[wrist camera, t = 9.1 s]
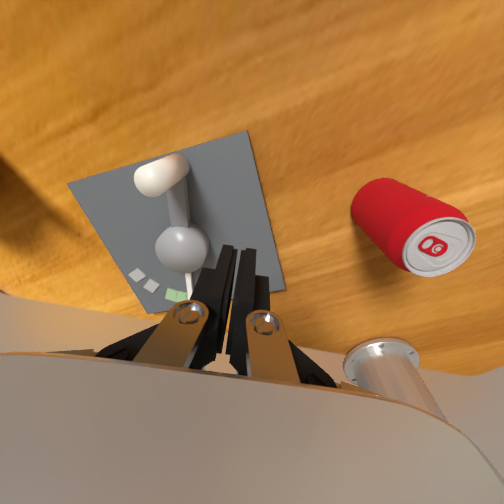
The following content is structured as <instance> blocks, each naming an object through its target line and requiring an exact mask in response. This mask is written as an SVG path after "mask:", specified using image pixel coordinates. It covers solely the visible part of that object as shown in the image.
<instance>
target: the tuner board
mask: <svg viewBox="0 0 504 504" xmlns="http://www.w3.org/2000/svg"><path fill="white" fill-rule="evenodd" d="M174 153H178V154H181V155H183V156H184V157H186V159H187V160H188V162H189V165H190V170H189V173H188V174H187V175H186V178H187V189H188V199H189V210H190V221H191V223H194V224H196V225H198V226H199V227H200V228H202V229H203V230H204V232H205V233H206V235H207V237H208V239H209V250H208V253H207V255H206V258H205V260H204V263H203V264H202V266H201V267H200V268H199V269H197V270H196V271H194V272H191V275H192V285H193V290H194V287H195V285H196V282H197V280H198V278H199V275H200V273H201V270H202V268H203V267H205V268H212V269H215V268H216V265H217V261H218V258H219V255H220V252H221V249H222V246H223V244H225V245H232V246H234V249H238V252H237V260H236V267H235V275H234V282H233V290H232V297H231V299H233V296H234V290H235V284H236V278H237V272H238V266H239V260H240V254H241V250H246V248H252V249H257V252H256V272H255V275H261V276H267V277H269V292H272V291H278V290H283V289H285V283H284V279H283V275H282V270H281V266H280V262H279V258H278V254H277V250H276V246H275V242H274V237H273V233H272V229H271V225H270V221H269V217H268V213H267V209H266V204H265V200H264V196H263V192H262V188H261V184H260V180H259V176H258V171H257V167H256V163H255V159H254V155H253V151H252V147H251V143H250V139H249V134H248V130H247V131H243V132H240V133H237V134H233V135H230V136H226V137H223V138H220V139H216V140H213V141H209V142H206V143H203V144H199V145H196V146H192V147H189V148H186V149H182V150H179V151H175V152H172V153H169V154H165V155H162V156H158V157H155V158H151V159H148V160H145V161H141V162H138V163H134V164H131V165H128V166H124V167H121V168H117V169H114V170H111V171H107V172H104V173H100V174H97V175H94V176H90V177H87V178H83V179H80V180H77V181H73V182H70V183H67V185H68V187H69V188H70V190H71V192H72V193H73V195H74V196H75V198H76V200H77V201H78V203H79V204H80V206H81V208H82V209H83V211H84V212H85V214H86V216H87V217H88V219H89V221H90V222H91V224H92V225H93V227H94V229H95V230H96V232H97V233H98V235H99V237H100V238H101V240H102V241H103V243H104V245H105V246H106V248H107V249H108V251H109V253H110V254H111V256H112V257H113V259H114V261H115V262H116V264H117V266H118V267H119V269H120V270H121V272H122V274H123V275H124V277H125V278H126V280H127V282H128V283H129V285H130V286H131V288H132V290H133V291H134V293H135V294H136V296H137V298H138V299H139V301H140V302H141V304H142V306H143V307H144V309H145V311H146V312H147V314H151V313H157V312H162V311H168V310H170V309H171V308H172V307H173V306H174V305H175V304H176V303H178V302H181V301H184V300H188V294H187V286H186V277H185V273H178V272H174V271H172V270H170V269H168V268H167V267H165V266H164V265H163V264H162V263H161V262H160V260H159V259H158V257H157V255H156V251H155V245H156V241H157V239H158V238H159V236H160V235H161V234H162V233H163V232H164V231H165V229H166V228H167V227H168V226H169V225H171V222H170V215H169V208H168V200H167V193H166V191H165V192H164V193H163V194H161V195H160V196H158V197H148V196H145V195H144V194H142V193H141V192H140V191H139V190H138V189H137V187H136V185H135V182H134V174H135V171H136V170H137V169H138V168H139V167H141V166H144V165H146V164H149V163H151V162H154V161H156V160H159V159H161V158H164V157H166V156H169V155H171V154H174Z"/></svg>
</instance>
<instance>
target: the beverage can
mask: <svg viewBox="0 0 504 504" xmlns="http://www.w3.org/2000/svg"><path fill="white" fill-rule="evenodd" d="M351 212H352V216H353V219H354V220H355V222H356V223H357V224H358V225H359V226H360V227H361V228H362V229H363V231H364V232H365V233H366V234H367V235H368V236H369V237H370V238H371V239H372V240H373V242H374V243H375V244H376V245H377V246H378V247H379V248H380V249H381V250H382V251H383V252H384V254H385V255H386V256H387V257H388V258H389V259H390V260H391V261H392V262H393V263H394V264H395V265H396V266H397V267H399V268H401V269H403V270H405V271H409V272H412V273H414V274H416V275H419V276H424V277H432V276H439V275H442V274H445V273H448V272H450V271H452V270H454V269H455V268H457V267H458V266H460V265H461V264H462V263H463V262H464V261H465V260H466V259H467V258H468V257H469V256H470V254H471V253H472V251H473V249H474V246H475V243H476V234H475V231H474V229H473V227H472V226H471V225H470V224H469V223H468V220H467V218H466V217H465V216H464V214H463V213H462V212H461V211H460V210H458V209H457V208H455V207H453V206H451V205H448V204H446V203H444V202H442V201H440V200H437V199H435V198H433V197H431V196H429V195H427V194H424V193H422V192H420V191H418V190H416V189H413V188H411V187H409V186H407V185H405V184H402V183H400V182H398V181H396V180H393V179H390V178H380V179H376V180H373V181H371V182H369V183H367V184H366V185H364V186H363V187H362V188H361V189H360V190H359V191H358V192H357V194H356V195H355V197H354V199H353V202H352V206H351Z"/></svg>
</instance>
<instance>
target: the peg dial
mask: <svg viewBox="0 0 504 504" xmlns="http://www.w3.org/2000/svg"><path fill="white" fill-rule="evenodd" d="M189 170H190V165H189V162H188V160H187V159H186V157H184V156H183V155H181V154H178V153H174V154H171V155H169V156H166V157H164V158H161V159H159V160H156V161H154V162H151V163H149V164H146V165H144V166H141V167H139V168H138V169H137V170H136V171H135V174H134V182H135V185H136V187H137V189H138V190H139V191H140V192H141V193H142V194H144V195H145V196H148V197H158V196H160V195H161V194H163V193H164V192H165V191H166V193H167V200H168V208H169V215H170V222H171V225H169V226H168V227H167V228H166V229H165V231H164V232H163V233H162V234H161V235H160V236H159V238H158V239H157V241H156V245H155V251H156V255H157V257H158V259H159V260H160V262H161V263H162V264H163V265H164V266H165V267H167V268H168V269H170V270H172V271H174V272H178V273H185V277H186V286H187V294H188V300H190V297H191V295H192V292H193V285H192V275H191V272H194V271H196V270H197V269H199V268H200V267H201V266H202V264H203V263H204V260H205V258H206V255H207V253H208V250H209V239H208V237H207V235H206V233H205V232H204V230H203V229H202V228H200V227H199V226H198V225H196V224H194V223H191V221H190V210H189V199H188V189H187V178H186V175H187V174H188V173H189Z"/></svg>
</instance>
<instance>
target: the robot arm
mask: <svg viewBox="0 0 504 504" xmlns="http://www.w3.org/2000/svg"><path fill="white" fill-rule="evenodd" d="M237 252H238V249H234V246H232V245H225V244H223V246H222V249H221V252H220V255H219V258H218V261H217V265H216V268H215V269H212V268H205V267H203V268H202V270H201V273H200V275H199V278H198V280H197V282H196V285H195V287H194V290H193V292H192V295H191V297H190V300H184V301H181V302H178V303H176V304H175V305H174V306H173V307H172V308H171V309H170V310H169V311H168V313H167V314H166V315H165V317H164V318H163V320H162V321H161V322H160V323H159V324H157V325H154V326H152V327H150V328H148V329H145V330H143V331H141V332H139V333H136V334H134V335H132V336H129V337H127V338H125V339H122V340H120V341H118V342H116V343H113V344H111V345H109V346H107V347H105V348H104V349H102V350H101V351H100V352H94V350H93V349H87V350H71V351H57V352H7V353H0V504H504V479H503V477H502V476H501V475H500V473H499V472H498V471H497V469H496V468H495V467H494V466H493V464H492V463H491V462H490V461H489V459H488V458H487V457H486V456H485V455H484V453H483V452H482V451H481V450H480V449H479V448H478V446H477V445H475V443H473V442H472V440H471V439H470V438H469V437H467V436H466V435H465V434H463V433H462V432H461V431H460V430H459V429H457V428H455V427H454V426H453V425H451V424H450V423H449V422H448V421H447V419H446V417H445V416H444V414H443V412H442V411H441V409H440V408H439V406H438V405H437V403H436V401H435V399H434V398H433V396H432V395H431V393H430V391H429V390H428V388H427V386H426V385H425V383H424V381H423V380H422V378H421V377H420V375H419V373H418V371H417V369H418V367H419V364H420V357H419V355H418V353H417V351H416V350H415V348H414V347H413V346H412V345H411V344H410V343H408V342H406V341H403V340H400V339H395V338H378V339H373V340H369V341H366V342H364V343H361V344H359V345H358V346H356V347H355V348H353V349H352V350H351V351H350V352H349V353H348V354H347V355H346V357H345V359H344V362H343V369H344V373H345V375H346V377H347V378H348V380H349V381H351V382H352V383H354V384H356V385H358V386H359V387H356V386H353V385H350V384H347V383H345V382H341V383H340V384H338V383H335V382H334V381H333V379H332V378H331V377H330V376H329V375H328V374H327V373H326V372H325V371H324V370H323V369H322V368H320V367H319V366H318V365H317V364H316V363H315V362H313V361H312V360H311V359H310V358H309V357H308V356H307V355H305V354H304V353H303V352H302V351H301V350H300V349H298V348H297V347H296V346H295V345H294V344H293V343H292V342H291V341H289V340H288V338H287V335H286V331H285V328H284V324H283V322H282V320H281V319H280V318H279V316H278V315H276V314H275V313H273V312H270V292H269V277H267V276H261V275H255V272H256V252H257V249H252V248H246V250H241V254H240V260H239V266H238V272H237V278H236V284H235V290H234V296H233V302H232V309H231V317H230V324H229V331H228V339H227V346H226V353H225V354H228V355H230V362H229V363H231V365H232V366H233V367H234V368H235V369H236V370H237V372H236V375H235V374H228V373H219V372H212V371H204V368H205V365H207V364H209V363H210V362H212V361H215V358H216V353H222V347H223V341H224V336H225V330H226V325H227V319H228V314H229V308H230V302H231V297H232V290H233V282H234V275H235V267H236V260H237Z"/></svg>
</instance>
